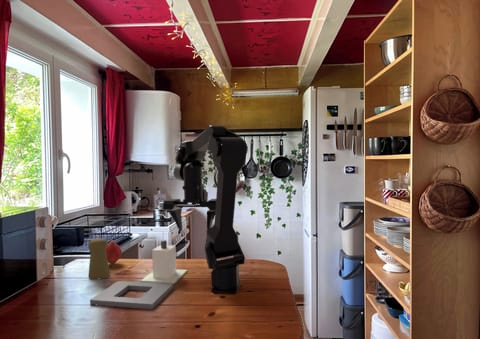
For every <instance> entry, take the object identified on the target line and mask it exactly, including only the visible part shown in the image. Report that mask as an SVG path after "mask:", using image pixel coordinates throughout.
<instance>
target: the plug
mask: <svg viewBox="0 0 480 339" xmlns="http://www.w3.org/2000/svg"><path fill="white" fill-rule="evenodd" d="M176 248H177V247H176V245H167V240H160V245H158V246H156V247H154V248H153V249H152V250H151V253H152V254H151V256H152V258H151V259H152V261H151V262H152V272H153V278H167V279H170V278H171V277H172V276H173V275H174V274H175V273H176V269H177V256H176V255H177V254H176Z"/></svg>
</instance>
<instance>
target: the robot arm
mask: <svg viewBox="0 0 480 339" xmlns="http://www.w3.org/2000/svg"><path fill="white" fill-rule="evenodd" d="M207 151H209V152H210V153H211V154H212V162H213V165H214V166H215V168H216V169H217V181H216V198H211V199H208V198H209V192H208V191H207V190H205V189H204V187H205V186H204V183H203V171H202V169H203V168H204V164H203V163H202V161H203V159H204V158H205V157H206V155H207V154H206V152H207ZM248 151H249V149H248V144H247V142H246V141H245V139H243V137H242V136H240V135H239V134H237V133H235V132H234V131H231V130H230V129H228V128H227V127H226V126H225V125H211V124H210V125H208V126H206V128H205V129H204V130H203V131H202V132H201V133H200V134H199V135H198V136H196V137H195V138H193V139H192V140H185V141H182V142H181V143H180V145H179V146H178V150H177V153H176V155H175V158H174V159H175V164H177V165H175V167H174V169H173V176H174V178H175V179H176V180H177V181H183V186H182V190H183V197H184V198H183V200H181V198H167V199H166V200H164V201H163V203H162V210H164V211H166V213H168V214H170V216H171V217H172V219H173V221H174V223H175V225H176V226H177V229H178V231H179V232H182V231H183V220H182V209H183V208H208V210H207V211H206V239H205V244H204V253H205V259H206V263H207V266H208V267H207V268H208V269H210V270H211V272H210V279H211V280H210V281H211V282H210V283H211V287H212V288H211V292H212V293H224V294H237V292H238V290H239V288H240V286H241V285H242V283H241V281H240V268H239V267H240V265H244V264H245V259H246V257H245V256H246V255H245V254H244V252H243V250H242V248H241V245H240V243H239V236H238V233H237V232H236V230H235V229H234V218H235V206H236V198H237V196H236V194H237V187H238V186H237V185H238V184H237V182H238V174H239V172H240V171H241V170H242V168H243V167H244V166H245V164H246V159H247V155H248V154H247V153H248ZM213 221H214V224H213ZM218 259H219V260H218Z"/></svg>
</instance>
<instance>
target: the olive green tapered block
mask: <svg viewBox="0 0 480 339" xmlns="http://www.w3.org/2000/svg"><path fill="white" fill-rule="evenodd" d="M107 245H108V241H107V239H106V238H100V237H99V238H98V237H97V238H93V239H91V240H90V241H89V242H88V245H87V248H88V250H89V251H90V254H89V266H88V267H89V268H88V276H87V278H88V277H89V278H91V279H90V280H99V279H98V278H102V279H104V278H103V277H105V278H107V277H106V276H108V275H109V274H110V275H111V271H110V270H111V269H110V266H109V263H108V260H107V255H106V248H107ZM110 275H109V276H110ZM109 276H108V277H109ZM89 278H88V279H89Z"/></svg>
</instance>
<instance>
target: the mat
mask: <svg viewBox="0 0 480 339" xmlns="http://www.w3.org/2000/svg"><path fill="white" fill-rule="evenodd" d="M187 272H188V269H179V268H176V273H175V274H174V275H173V276H172V277H171V278H170V279H167V278H153V271H151V272H150V273H148V274H147V275H145V277H144V278H142V279H141V280H140V282H147V283H165V284H173V285H174V284H176V283H177V282H178V281H179V280H180V279H181V278H182V277H183V276H184V275H185V274H186V273H187Z"/></svg>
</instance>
